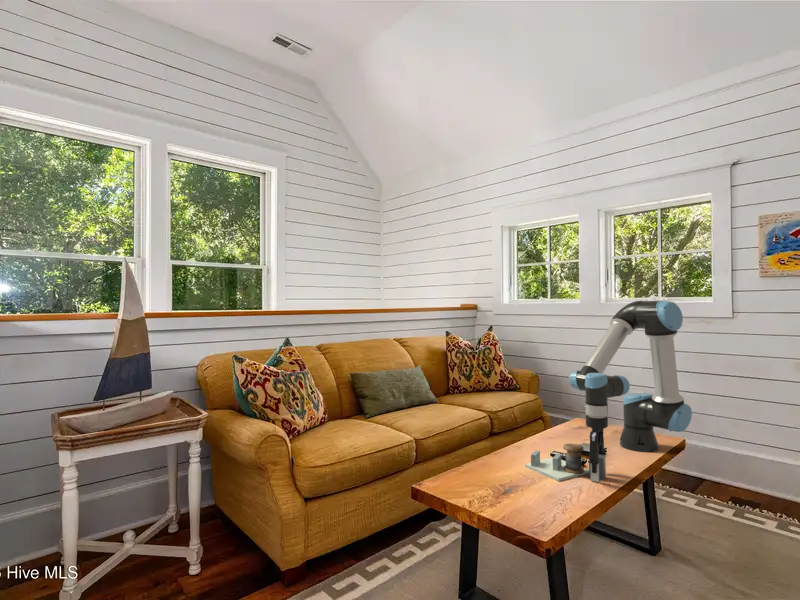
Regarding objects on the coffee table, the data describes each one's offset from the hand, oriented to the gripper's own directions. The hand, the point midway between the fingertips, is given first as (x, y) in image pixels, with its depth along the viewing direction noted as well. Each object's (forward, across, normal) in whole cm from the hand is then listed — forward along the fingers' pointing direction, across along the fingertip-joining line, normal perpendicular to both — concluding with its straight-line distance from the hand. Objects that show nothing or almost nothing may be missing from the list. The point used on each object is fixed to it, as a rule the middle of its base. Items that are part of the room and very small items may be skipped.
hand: (597, 476), depth 176 cm
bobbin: (0, 0, -8) cm, 8 cm away
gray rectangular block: (0, 0, 0) cm, 0 cm away
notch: (0, 0, -18) cm, 19 cm away
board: (0, -1, -15) cm, 15 cm away
